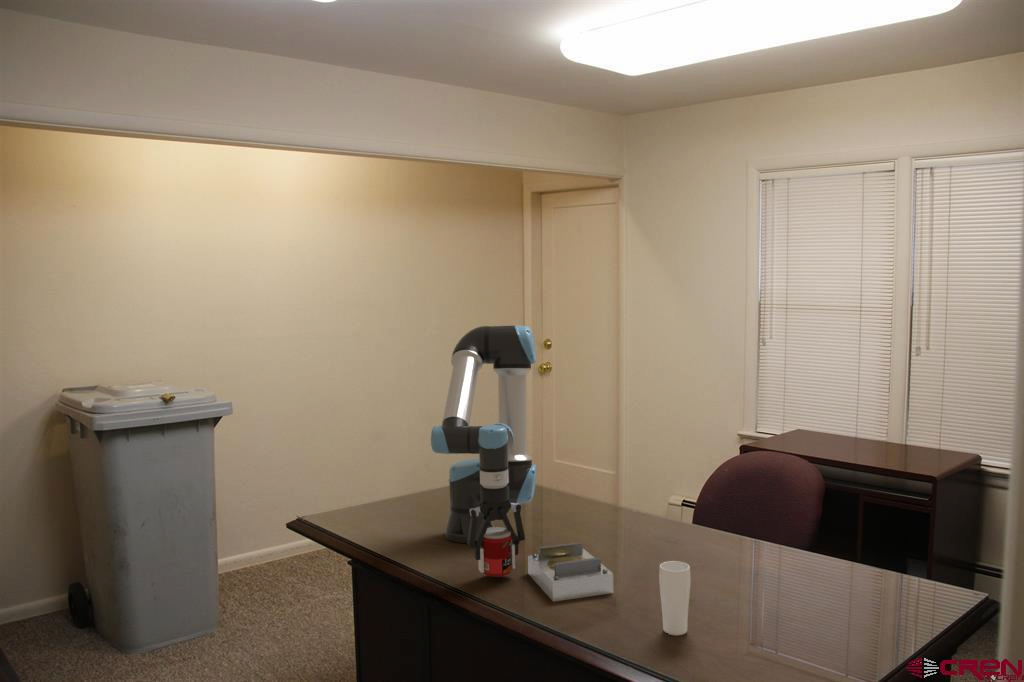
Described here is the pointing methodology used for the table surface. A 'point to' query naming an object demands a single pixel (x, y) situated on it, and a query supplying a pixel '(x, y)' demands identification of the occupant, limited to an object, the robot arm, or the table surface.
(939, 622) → the table surface
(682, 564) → the drinking glass
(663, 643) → the table surface
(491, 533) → the canned food
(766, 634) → the table surface
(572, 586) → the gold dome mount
